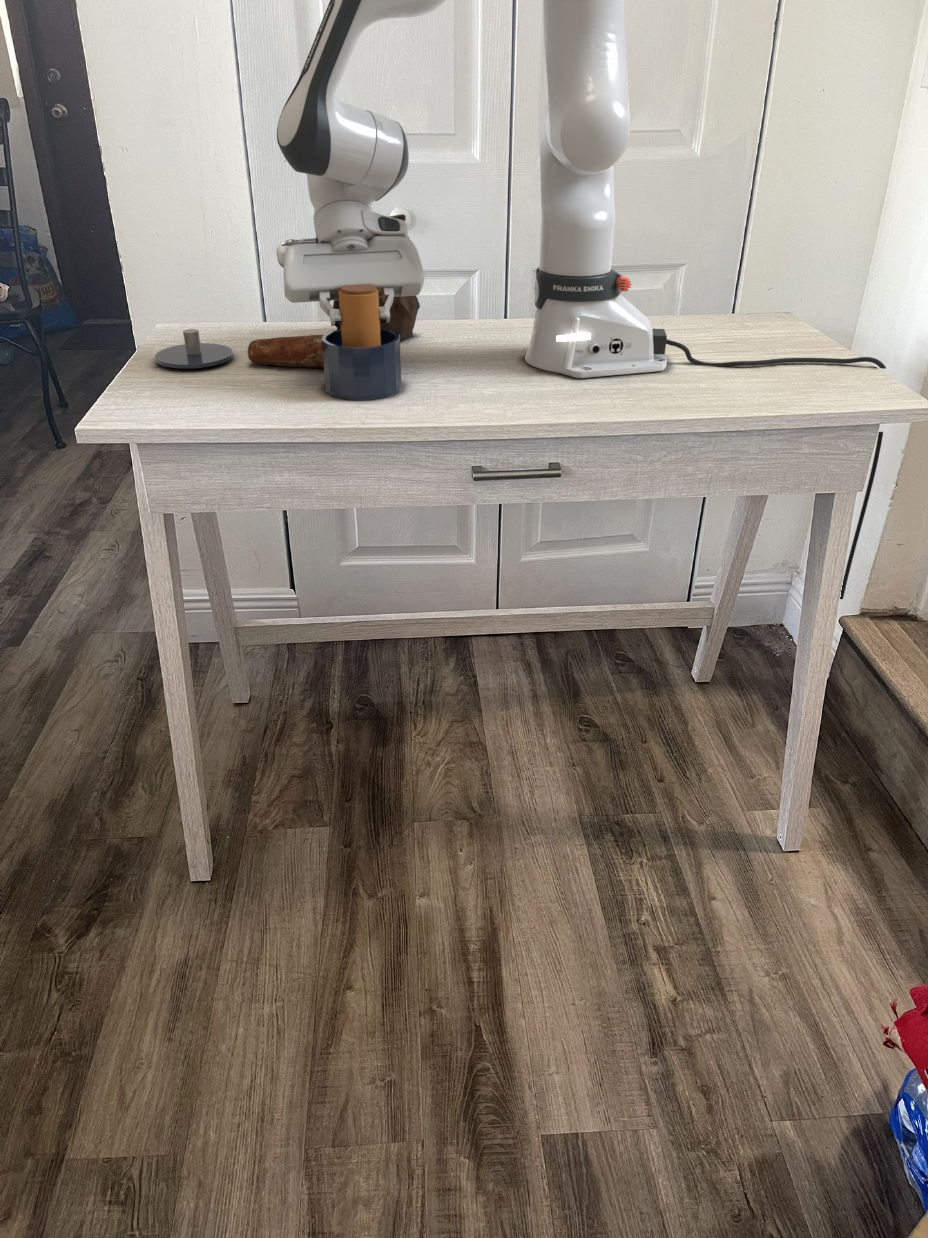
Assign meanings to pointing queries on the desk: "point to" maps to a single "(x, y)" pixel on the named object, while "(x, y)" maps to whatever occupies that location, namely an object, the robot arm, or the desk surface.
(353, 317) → the tall brown tube
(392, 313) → the owl
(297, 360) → the bread
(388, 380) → the pot
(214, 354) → the pot lid
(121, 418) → the desk surface
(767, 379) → the desk surface
